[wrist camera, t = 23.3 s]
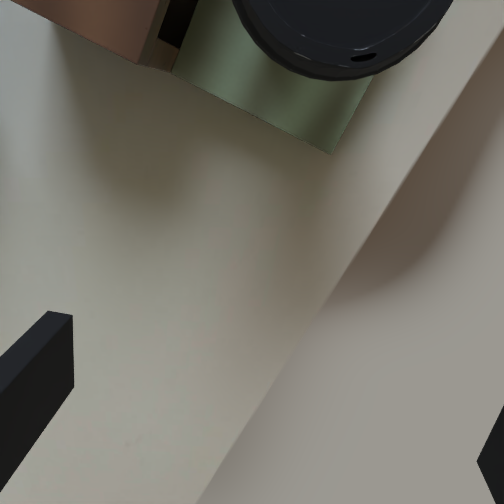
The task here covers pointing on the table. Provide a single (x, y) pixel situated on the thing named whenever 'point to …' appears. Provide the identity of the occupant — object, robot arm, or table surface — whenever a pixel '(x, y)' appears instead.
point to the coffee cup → (339, 33)
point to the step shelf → (214, 62)
